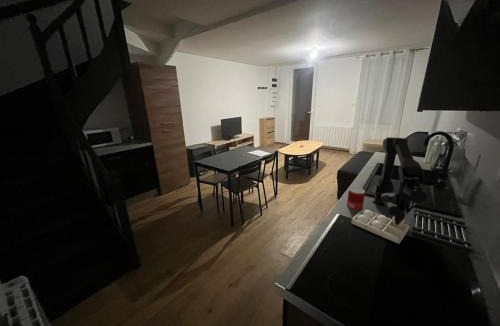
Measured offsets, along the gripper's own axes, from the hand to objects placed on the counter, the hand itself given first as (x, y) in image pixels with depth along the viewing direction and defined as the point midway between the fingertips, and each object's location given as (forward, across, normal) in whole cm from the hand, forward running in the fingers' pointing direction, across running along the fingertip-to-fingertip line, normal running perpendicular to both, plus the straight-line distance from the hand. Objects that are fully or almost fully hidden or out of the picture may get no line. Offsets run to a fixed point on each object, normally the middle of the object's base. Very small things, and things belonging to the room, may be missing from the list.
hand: (398, 222), depth 95 cm
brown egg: (+1, 0, 0) cm, 1 cm away
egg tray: (+5, +3, -7) cm, 9 cm away
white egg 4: (+4, 0, -7) cm, 8 cm away
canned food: (+5, -7, -23) cm, 24 cm away
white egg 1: (+4, +7, -13) cm, 15 cm away
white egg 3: (+4, +7, -7) cm, 10 cm away
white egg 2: (+4, 0, -13) cm, 14 cm away
